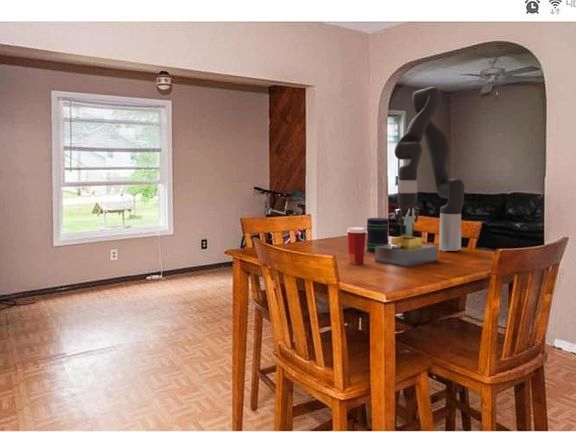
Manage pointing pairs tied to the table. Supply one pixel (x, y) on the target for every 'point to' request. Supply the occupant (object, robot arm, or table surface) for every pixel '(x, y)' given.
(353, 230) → the paper cup
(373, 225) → the storage jar
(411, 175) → the robot arm
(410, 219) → the spout can
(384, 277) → the table surface
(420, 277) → the table surface
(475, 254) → the table surface
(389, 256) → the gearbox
